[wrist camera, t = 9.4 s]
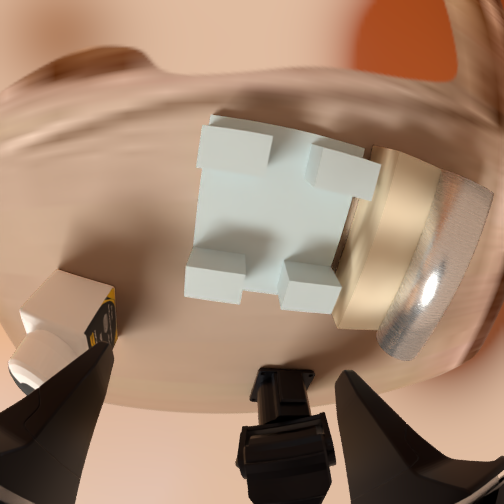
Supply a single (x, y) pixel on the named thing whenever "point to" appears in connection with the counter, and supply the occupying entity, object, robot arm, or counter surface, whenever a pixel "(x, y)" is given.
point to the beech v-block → (383, 238)
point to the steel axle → (436, 265)
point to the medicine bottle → (62, 326)
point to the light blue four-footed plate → (272, 212)
